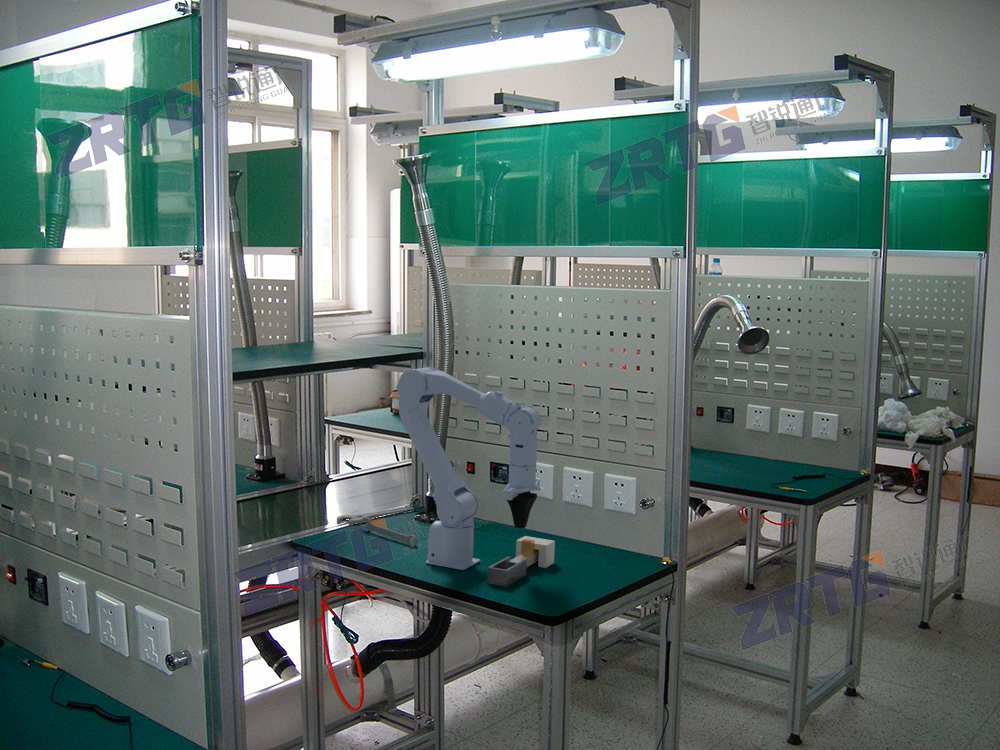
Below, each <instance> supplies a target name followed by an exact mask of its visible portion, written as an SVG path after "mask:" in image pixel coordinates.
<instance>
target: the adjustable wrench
mask: <svg viewBox="0 0 1000 750" xmlns="http://www.w3.org/2000/svg"><path fill="white" fill-rule="evenodd" d="M411 506H412V505H407V506H402V507H397V508H389V509H386V510H385V509H384V510H380V511H374V512H368V513H361V514H360V513H359V514H358V513H357V514H342V515H338V516H337V517H336V523H337V524H338V525H339V524H341V523H343V521H348V522H347V525H348V524H349V525H348V526H352V525H351V524H356V523H361V522H364V521H365V520H364V519H363V517H368V518H370V519H372V518H376V517H379V516H383V515H388V514H393V513H397V512H403V511H407V510H411V509H414V508H410V507H411ZM346 519H349V520H346ZM372 520H373V519H372Z"/></svg>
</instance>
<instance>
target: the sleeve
mask: <svg viewBox="0 0 1000 750" xmlns="http://www.w3.org/2000/svg"><path fill="white" fill-rule="evenodd" d="M510 560H512V556H509V555H508V556H506V557H504V558H502V559H500V560H499V561H497V562H495V563H493V564H491V565H489V566H488V567H487V578H486V579H487V581H486V582H487V583H489V584H488V585H492V584H494V586H497V585H498V586H497V587H502V586H503V588H508V587H509V586H511V585H513V584H515V583H516V582H517V581H519V580H521V579H523V578H524V577H526V576H527V569H528V567H527V559H524V560H522V561H520V562H518V563H517V564H515V565H513V566H511V567H510V568H508V561H510ZM487 583H486V584H487Z"/></svg>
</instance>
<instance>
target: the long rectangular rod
mask: <svg viewBox="0 0 1000 750" xmlns="http://www.w3.org/2000/svg"><path fill="white" fill-rule="evenodd" d="M534 546H535V540H529V539H523V540H522V544H521V555H519V556H517V557H516V556H515V557H514V558H511V560H510V561H508V568H510V567H511V566H513V565H515V564H517V563H518V562H520V561H522V560H524V559H527V568H528V567H530V566H531V565H533V564H535V563H537V562H538V560H539V550H538V549H534Z"/></svg>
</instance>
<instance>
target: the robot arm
mask: <svg viewBox="0 0 1000 750" xmlns="http://www.w3.org/2000/svg"><path fill="white" fill-rule="evenodd" d="M395 389H396V391H397V393H398V415H399V417H400V419H401V421H402V423H403V425H404V428H405V430H406V433H407V434H408V436H409V438H410V440H411V442H412V444H413V446H414V448H415V450H416V452H417V454H418V456H419V458H420V460H421V462H422V464H423V466H424V469H425V470H426V473H427V475H428V476H429V479H430V481H431V482H432V485H433V488H434V492H433V500H434V502H435V505H436V515H437V518H438V519H439V520H435V521H434V522H432V523H431V525H430V527H429V531H428V539H427V541H428V542H427V545H428V547H427V560H426V561H425V563H426V564H428V565H433V566H438V567H445V568H450V569H454V570H459V571H465V570H467V569H468V568H470V567H472V566H474V565H476V564H478V563H480V562H481V559H480V558H474V557H473V555H474V533H475V531H474V530H475V528H474V526H475V521H474V516H475V514H477V512H478V510H479V499H478V497H477V495H476V494H475V493H474V492H473V491H472V490H470V488H468V485H467V483H466V482H465V481H464V480H463V479H460V478H459V476H457V474H456V472H455V470H454V468H453V466H452V464H451V461H450V459H449V458H448V456H447V454H446V452H445V449H444V448H443V446H442V443H441V442H440V439H439V438H438V435H437V434H436V431H435V430H434V428H433V426H432V423H431V421H430V420H429V417H428V416H427V415H428V414H426V413H427V411H428V407H429V404H430V403H431V400H433V398H434V397H435V396H436V395H440V394H445V395H448V396H450V397H452V398H454V399H458V400H459V401H462V402H463V403H464V402H465V403H467V404H469V405H471V406H473V407H476V408H477V409H476V410H478V413H479V416H481V417H483V418H485V419H487V420H489V421H492V422H493V423H496V424H497V425H500V426H502V427H504V428H507V430H508V432H509V433H510V442H509V460H508V461H509V462H508V463H509V464H508V482H507V485H506V487H505V488H504V489H502V494H501V495H502V500H506V501H507V503H508V505H509V508H510V512H511V515H512V521H513V525H514V526H513V527H514V528H517V529H525V528H527V525H528V521H529V518H530V514H531V510H532V508H533V506H534V504H535V502H536V500H537V498H538V493H535V492H537V491H540V490H541V480H540V479H539V478H537V479H536V477H537V458H538V457H537V456H538V455H537V453H538V430H539V429H540V427H541V426H542V425H541V424H542V416H541V414H540V412H539V411H538V410H537V409H536V408H534V407H533V406H532V405H524V406H522V402H520V401H513V400H511V399H509V398H507V397H505V396H503V392H502V391H499V390H495V391H492V390H490V391H488V392H486V393H484V392H482V391H480V390H478V389H476V388H474V387H472V386H471V385H469V384H467V383H465V382H464V381H462V380H460V379H457V378H456V377H454V376H452V375H451V374H448V372H447V373H446V371H443V370H438V369H436V368H435V367H432V366H424V367H422V368H409V369H406V370H405V371H404V372H402V374H401V375H400V376H399V379H398V382H397V384H396V387H395ZM533 491H535V492H533Z"/></svg>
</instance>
